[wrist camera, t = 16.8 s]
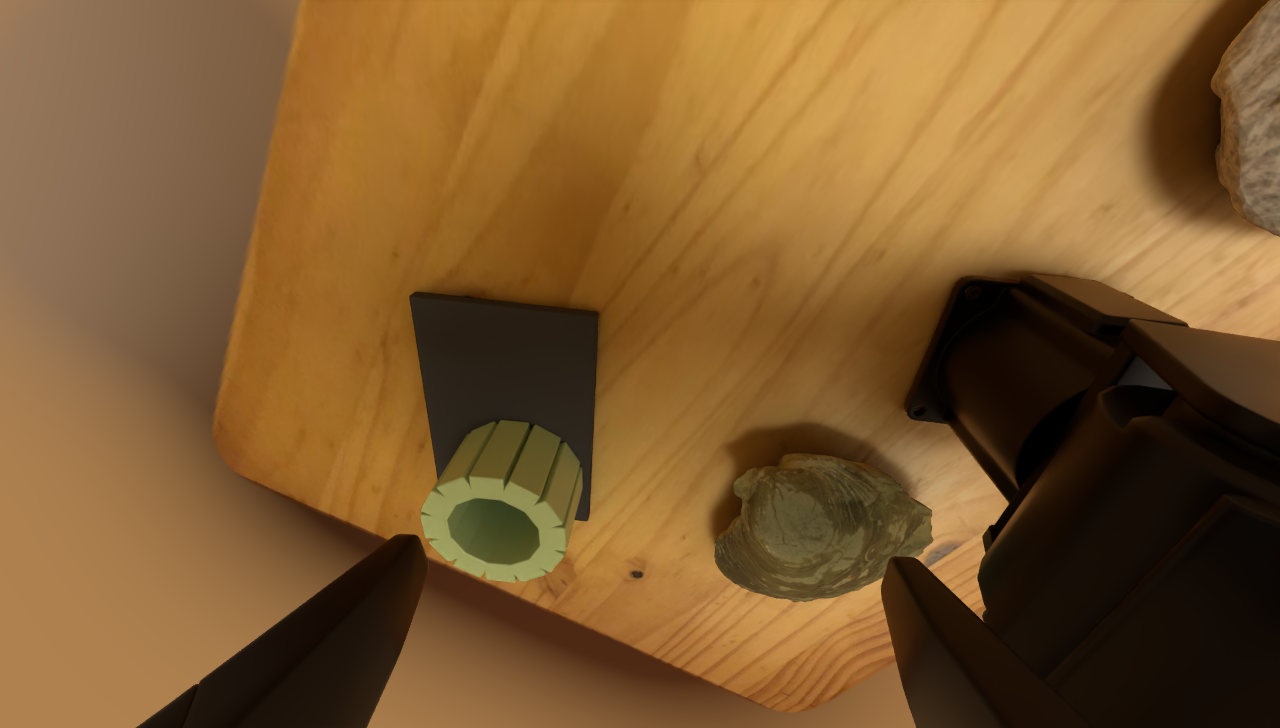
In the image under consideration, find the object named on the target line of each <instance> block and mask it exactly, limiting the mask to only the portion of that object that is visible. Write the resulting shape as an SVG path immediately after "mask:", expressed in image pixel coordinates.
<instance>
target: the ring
mask: <svg viewBox="0 0 1280 728" xmlns="http://www.w3.org/2000/svg"><path fill="white" fill-rule="evenodd" d="M560 441H561V438H560V437H558V436H557V435H555V434H553V433H551V432H549V431H547V430H545V429H544V428H542V427H540V426H538V425H536V424H535V425H534V427H533V428H532V430H531V431H530V424H529V423H528V422H518V421H506V420H501V421H500V422H499V424H498V425H497V423H496V422H495V421H494V422H491V423H489V424H487V425H484V426H482V427H479V428H477V429H475V430H472V431H471V433H470V434H467V435H466V437H465V439H464V440H463V442H462V443H461V445H460V446H459V448H458V450H457V451H456V453H455V454H454V456H453V457H452V459H451V461H450V462H449V464H448V465H447V467H446V469H445V470H444V472H443V473H442V475H441V476H440V478H439V480H438V481H437V483H436V484H435V486H434V487H433V489H432V491H431V492H430V494H429V496H428V498H427V499H426V501H425V503H424V505H423V506H422V508H421V511H422V513H421V514H420V517H421V521H422V525H423V529H424V533H425V537H426V538H431V539H430V541H429V543H430V544H431V545H432V546H433V547H434V548H435V549H436V550H437V551H438V552H439V553H440V555H441V556H442V557H443V558H444V559H445V560H446V561H451V560H454V559H455V561H454V563H453V566H455V567H457V568H459V569H462V570H464V571H466V572H468V573H470V574H473V575H475V576H477V577H481V576H482V575H483V573H484V572H485V576H486V579H487V580H495V581H505V582H516V579H517V578H518V579H519V580H520V582H523V581H527V580H530V579H534V578H537V577H540V576H544V575H546V573H547V571H548V572H551V571H552V570H553V569H554V567H555V566H556V565H557V564H558V563H559V562H560V560H561V559H562V558H563V557H564V556H565V552H566V550H567V546H568V542H569V539H570V535H571V531H572V527H573V523H574V519H575V516H576V512H577V508H578V504H579V500H580V496H581V492H582V489H583V481H582V467H579V466H580V461H579V460H578V458H577V457H576V456H575V454H574V453H573V452H572V450H571V449H570V447H569V446H568V445H567V443H566V442H564V443H561V444H559V443H560Z"/></svg>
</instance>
